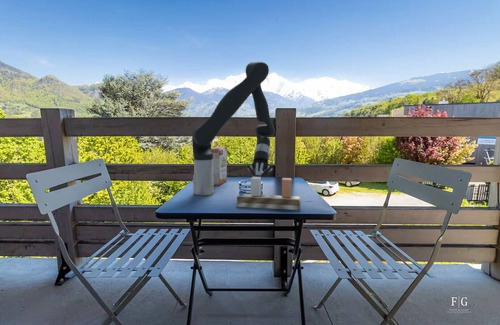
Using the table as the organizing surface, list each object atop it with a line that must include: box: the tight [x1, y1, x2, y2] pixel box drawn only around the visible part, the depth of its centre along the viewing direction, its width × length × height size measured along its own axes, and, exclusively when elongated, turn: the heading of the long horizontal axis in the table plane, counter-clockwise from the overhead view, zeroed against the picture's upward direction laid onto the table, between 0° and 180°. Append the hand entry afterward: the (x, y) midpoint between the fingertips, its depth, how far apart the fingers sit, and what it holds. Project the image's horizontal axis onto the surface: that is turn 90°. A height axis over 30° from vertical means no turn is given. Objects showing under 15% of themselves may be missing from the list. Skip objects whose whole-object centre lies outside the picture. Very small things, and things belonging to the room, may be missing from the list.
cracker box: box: [211, 146, 228, 186], centre depth 158 cm, size 14×6×21 cm, turn 168°
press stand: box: [236, 193, 301, 211], centre depth 119 cm, size 26×15×4 cm, turn 78°
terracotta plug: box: [281, 177, 293, 198], centre depth 122 cm, size 4×4×8 cm
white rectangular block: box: [250, 176, 262, 196], centre depth 125 cm, size 4×4×8 cm
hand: (257, 183), depth 130 cm, fingers closed
